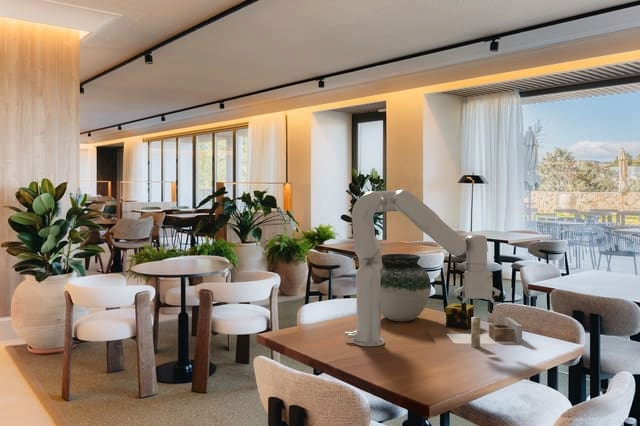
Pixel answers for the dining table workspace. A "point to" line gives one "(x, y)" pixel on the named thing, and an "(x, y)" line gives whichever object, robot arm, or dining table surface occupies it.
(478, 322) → the dowel
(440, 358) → the dining table surface
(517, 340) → the board
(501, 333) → the brown square wooden frame
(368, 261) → the robot arm
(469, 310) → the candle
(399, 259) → the vase
